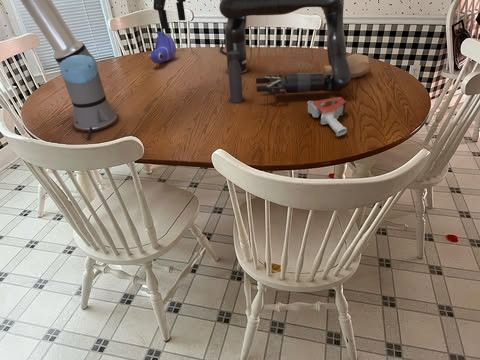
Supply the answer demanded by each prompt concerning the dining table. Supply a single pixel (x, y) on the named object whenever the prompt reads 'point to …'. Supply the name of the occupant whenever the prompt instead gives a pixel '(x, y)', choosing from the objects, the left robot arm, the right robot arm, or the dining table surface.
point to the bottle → (235, 81)
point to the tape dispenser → (329, 113)
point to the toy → (163, 48)
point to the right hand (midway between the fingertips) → (256, 84)
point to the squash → (354, 65)
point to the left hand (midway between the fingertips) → (174, 24)
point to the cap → (233, 55)
